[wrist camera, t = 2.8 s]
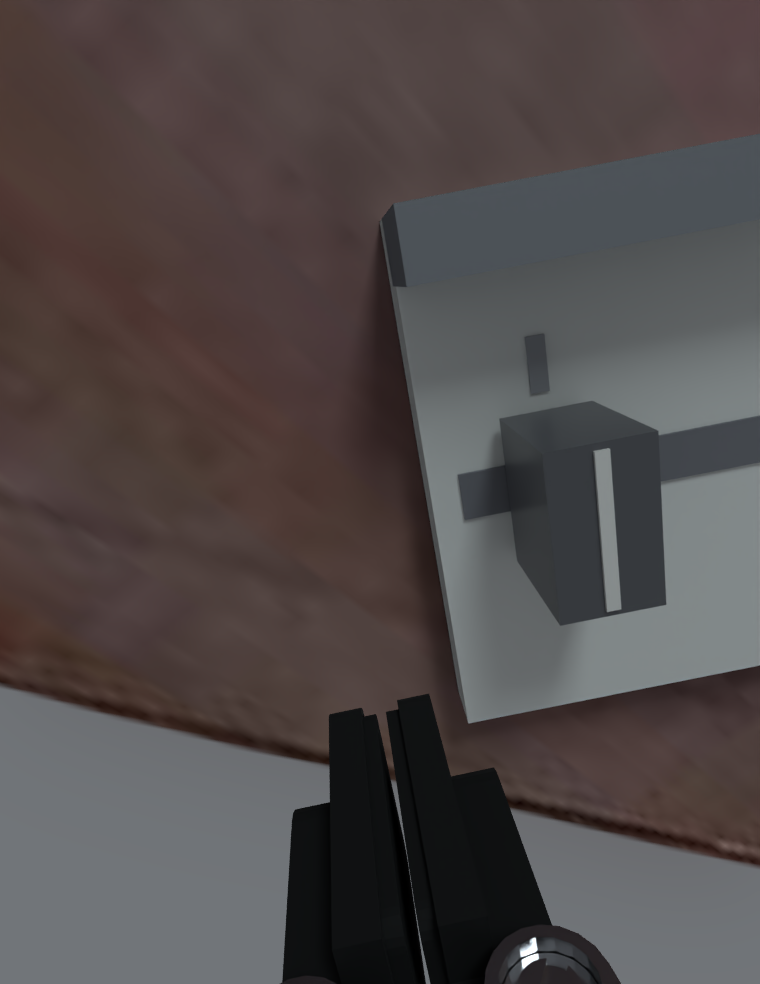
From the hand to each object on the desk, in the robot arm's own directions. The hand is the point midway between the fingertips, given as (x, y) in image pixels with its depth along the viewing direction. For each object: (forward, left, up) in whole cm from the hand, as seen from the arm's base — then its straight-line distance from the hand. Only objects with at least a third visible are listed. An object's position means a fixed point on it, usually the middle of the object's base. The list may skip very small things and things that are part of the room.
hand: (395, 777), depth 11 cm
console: (-12, 0, -14) cm, 18 cm away
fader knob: (-6, 0, -11) cm, 13 cm away
